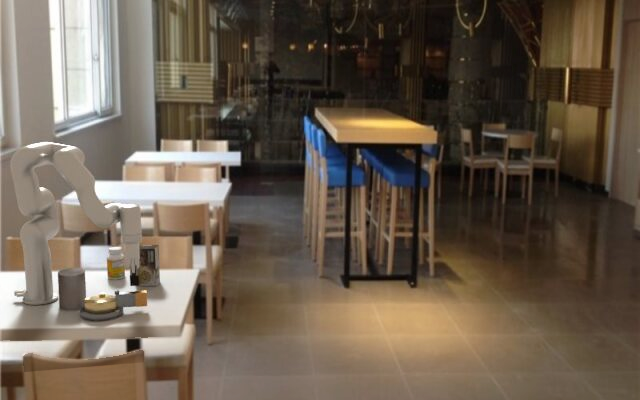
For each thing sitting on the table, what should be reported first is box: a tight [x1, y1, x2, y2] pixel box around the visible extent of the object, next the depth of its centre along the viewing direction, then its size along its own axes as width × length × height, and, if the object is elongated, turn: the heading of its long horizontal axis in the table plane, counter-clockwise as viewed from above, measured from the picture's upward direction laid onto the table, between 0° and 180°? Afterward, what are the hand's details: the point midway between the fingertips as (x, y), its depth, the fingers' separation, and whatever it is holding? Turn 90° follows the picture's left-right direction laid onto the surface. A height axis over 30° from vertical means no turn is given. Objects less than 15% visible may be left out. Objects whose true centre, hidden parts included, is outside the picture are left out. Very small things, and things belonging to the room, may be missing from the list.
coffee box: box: [137, 244, 161, 287], centre depth 293 cm, size 9×6×16 cm
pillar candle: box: [57, 267, 87, 312], centre depth 265 cm, size 10×10×15 cm
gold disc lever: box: [84, 290, 148, 314], centre depth 258 cm, size 22×12×6 cm, turn 103°
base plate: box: [79, 307, 124, 323], centre depth 258 cm, size 15×15×2 cm
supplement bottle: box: [106, 246, 126, 281], centre depth 302 cm, size 7×7×13 cm
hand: (134, 285), depth 268 cm, fingers closed
